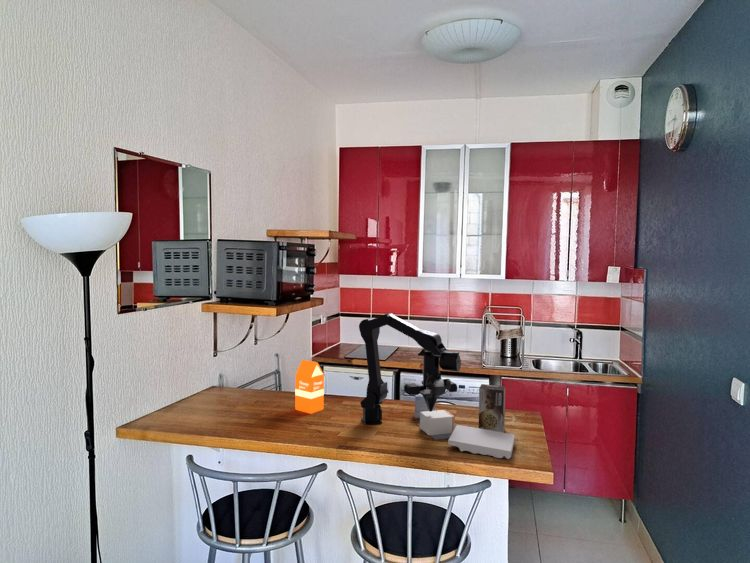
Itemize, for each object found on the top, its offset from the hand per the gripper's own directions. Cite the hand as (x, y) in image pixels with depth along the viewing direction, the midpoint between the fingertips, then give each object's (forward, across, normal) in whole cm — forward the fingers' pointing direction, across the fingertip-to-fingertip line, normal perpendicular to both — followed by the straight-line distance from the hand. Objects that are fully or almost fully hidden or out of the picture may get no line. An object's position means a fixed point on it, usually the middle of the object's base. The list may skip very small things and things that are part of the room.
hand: (430, 411), depth 185 cm
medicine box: (+8, +5, +16) cm, 19 cm away
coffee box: (+8, +23, -4) cm, 25 cm away
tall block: (+4, -2, 0) cm, 5 cm away
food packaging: (+8, +11, -18) cm, 22 cm away
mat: (+8, +6, 0) cm, 9 cm away
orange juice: (+8, -37, +37) cm, 53 cm away
